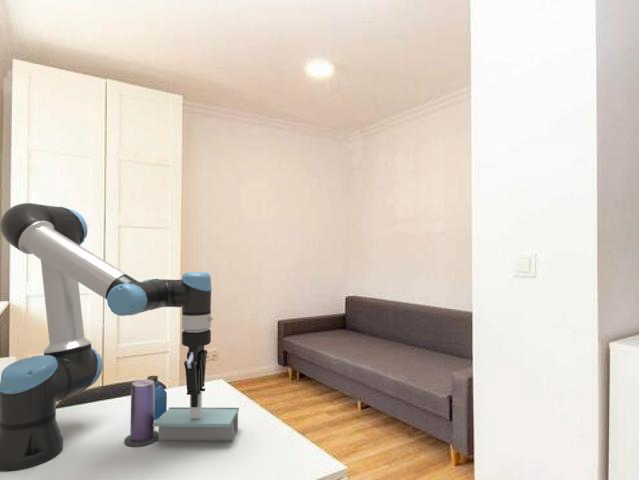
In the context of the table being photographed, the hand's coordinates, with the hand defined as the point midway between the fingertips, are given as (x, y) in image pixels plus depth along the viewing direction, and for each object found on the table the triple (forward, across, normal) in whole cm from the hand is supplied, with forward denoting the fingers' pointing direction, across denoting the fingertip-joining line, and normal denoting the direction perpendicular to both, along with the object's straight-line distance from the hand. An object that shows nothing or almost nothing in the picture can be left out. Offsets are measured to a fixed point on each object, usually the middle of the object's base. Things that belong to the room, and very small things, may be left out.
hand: (195, 417), depth 109 cm
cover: (+1, +2, 0) cm, 3 cm away
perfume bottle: (+7, +18, +19) cm, 27 cm away
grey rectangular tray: (+7, +4, 0) cm, 8 cm away
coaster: (+7, +2, +15) cm, 17 cm away
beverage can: (+6, +2, +15) cm, 17 cm away
